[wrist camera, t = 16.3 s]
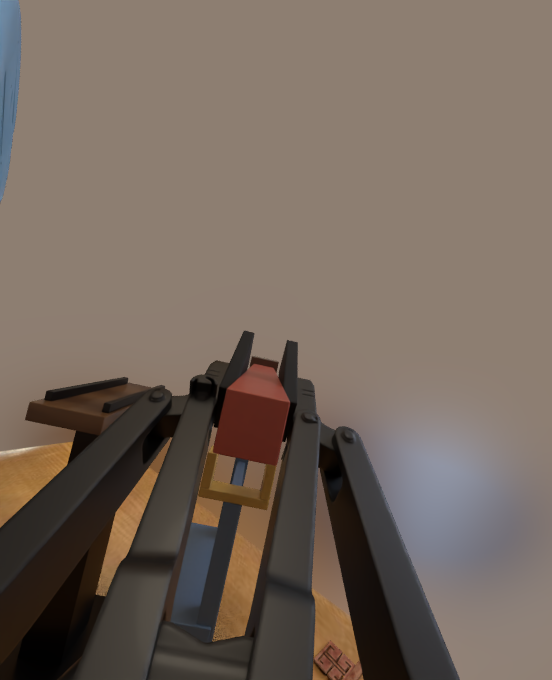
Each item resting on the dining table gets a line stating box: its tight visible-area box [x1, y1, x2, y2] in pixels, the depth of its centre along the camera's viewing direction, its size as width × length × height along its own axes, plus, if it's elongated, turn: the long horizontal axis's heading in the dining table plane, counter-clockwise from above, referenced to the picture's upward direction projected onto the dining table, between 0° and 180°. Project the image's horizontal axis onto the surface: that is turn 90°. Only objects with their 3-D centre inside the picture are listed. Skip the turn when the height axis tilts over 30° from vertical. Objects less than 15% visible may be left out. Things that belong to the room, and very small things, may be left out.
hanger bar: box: [213, 356, 290, 466], centre depth 21 cm, size 24×3×3 cm, turn 2°
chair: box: [170, 446, 276, 643], centre depth 27 cm, size 12×11×25 cm
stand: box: [0, 377, 165, 680], centre depth 27 cm, size 14×8×27 cm, turn 2°
